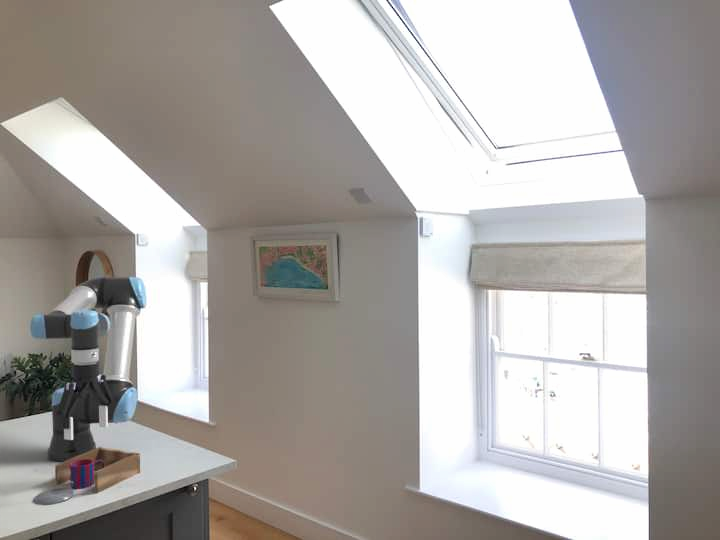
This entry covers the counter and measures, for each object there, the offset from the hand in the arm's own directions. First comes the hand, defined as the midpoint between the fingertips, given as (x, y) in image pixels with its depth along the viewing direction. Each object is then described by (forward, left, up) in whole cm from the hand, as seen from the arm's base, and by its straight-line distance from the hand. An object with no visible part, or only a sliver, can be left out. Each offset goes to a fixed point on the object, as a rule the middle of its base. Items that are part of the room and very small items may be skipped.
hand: (86, 432), depth 192 cm
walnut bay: (0, +4, -16) cm, 16 cm away
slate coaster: (-1, -11, -16) cm, 19 cm away
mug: (0, 0, -16) cm, 16 cm away
